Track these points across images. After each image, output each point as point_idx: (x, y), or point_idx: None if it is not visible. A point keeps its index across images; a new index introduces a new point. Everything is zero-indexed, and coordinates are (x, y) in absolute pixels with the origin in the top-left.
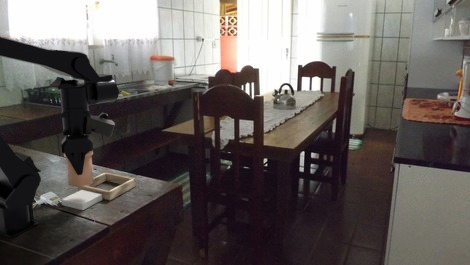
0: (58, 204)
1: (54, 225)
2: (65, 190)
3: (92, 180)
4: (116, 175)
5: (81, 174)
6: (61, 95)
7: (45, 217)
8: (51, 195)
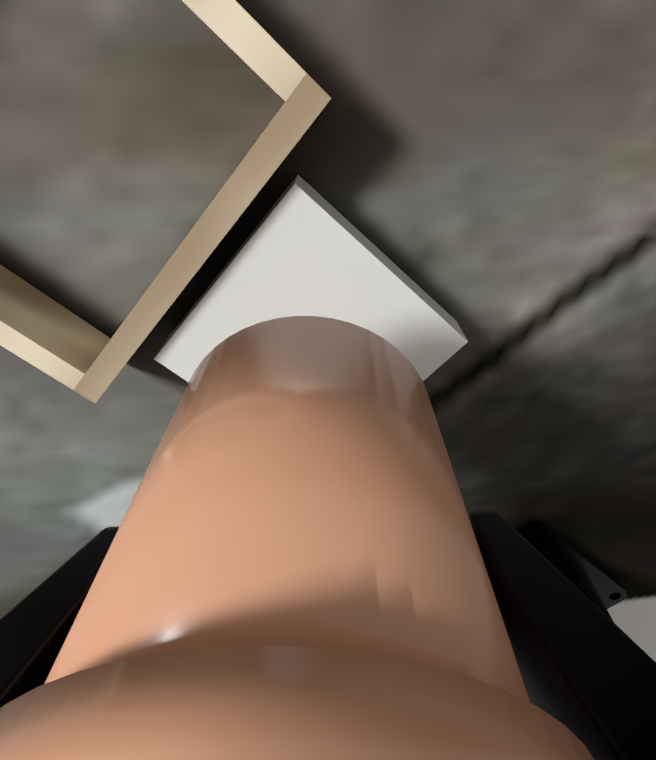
0: None
1: (581, 453)
2: (59, 442)
3: (341, 328)
4: None
5: (490, 515)
6: None
7: None
8: None
